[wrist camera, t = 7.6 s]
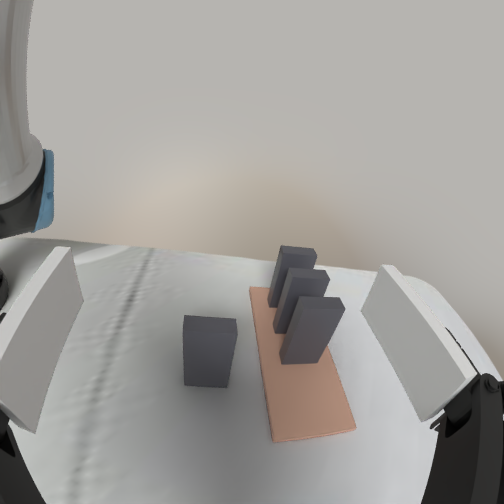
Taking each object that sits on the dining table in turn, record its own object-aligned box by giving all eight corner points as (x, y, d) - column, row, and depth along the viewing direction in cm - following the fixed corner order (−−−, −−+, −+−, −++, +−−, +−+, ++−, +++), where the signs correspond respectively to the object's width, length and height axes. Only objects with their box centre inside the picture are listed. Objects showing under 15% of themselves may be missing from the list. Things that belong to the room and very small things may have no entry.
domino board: (353, 430, 26) (356, 427, 25) (272, 442, 24) (274, 440, 23) (304, 293, 48) (305, 289, 48) (249, 290, 46) (250, 286, 46)
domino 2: (299, 308, 43) (317, 255, 38) (269, 307, 42) (283, 252, 37) (296, 300, 45) (313, 248, 40) (267, 299, 44) (280, 245, 39)
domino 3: (307, 333, 38) (330, 279, 33) (274, 333, 37) (292, 277, 32) (304, 324, 40) (325, 270, 35) (272, 323, 39) (289, 267, 34)
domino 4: (317, 363, 34) (345, 309, 29) (281, 364, 33) (304, 308, 28) (313, 352, 35) (339, 297, 30) (278, 352, 34) (299, 296, 29)
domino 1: (226, 387, 29) (237, 334, 24) (184, 385, 29) (182, 330, 24) (226, 374, 31) (236, 318, 26) (185, 371, 30) (184, 315, 25)
